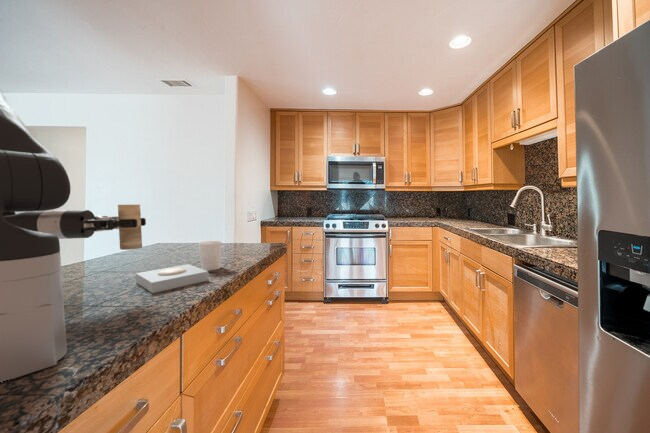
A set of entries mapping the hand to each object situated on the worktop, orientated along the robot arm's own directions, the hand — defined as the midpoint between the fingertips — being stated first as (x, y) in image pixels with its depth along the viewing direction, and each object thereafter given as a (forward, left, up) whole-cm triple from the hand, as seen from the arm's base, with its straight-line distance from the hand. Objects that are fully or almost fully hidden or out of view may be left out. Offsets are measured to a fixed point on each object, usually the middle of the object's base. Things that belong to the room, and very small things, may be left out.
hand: (140, 222), depth 76 cm
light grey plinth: (+6, -9, -20) cm, 23 cm away
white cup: (+13, -25, -20) cm, 35 cm away
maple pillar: (+1, +2, -7) cm, 7 cm away
